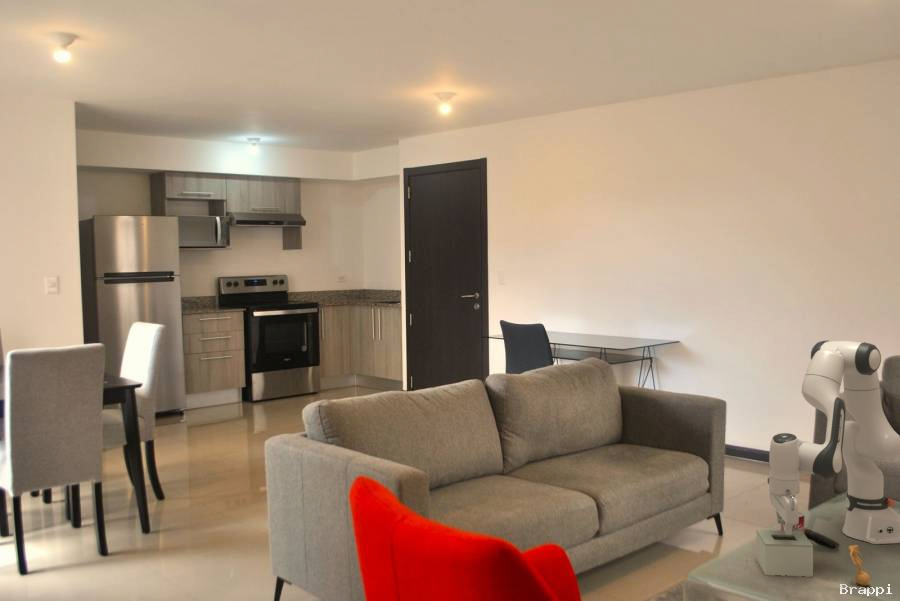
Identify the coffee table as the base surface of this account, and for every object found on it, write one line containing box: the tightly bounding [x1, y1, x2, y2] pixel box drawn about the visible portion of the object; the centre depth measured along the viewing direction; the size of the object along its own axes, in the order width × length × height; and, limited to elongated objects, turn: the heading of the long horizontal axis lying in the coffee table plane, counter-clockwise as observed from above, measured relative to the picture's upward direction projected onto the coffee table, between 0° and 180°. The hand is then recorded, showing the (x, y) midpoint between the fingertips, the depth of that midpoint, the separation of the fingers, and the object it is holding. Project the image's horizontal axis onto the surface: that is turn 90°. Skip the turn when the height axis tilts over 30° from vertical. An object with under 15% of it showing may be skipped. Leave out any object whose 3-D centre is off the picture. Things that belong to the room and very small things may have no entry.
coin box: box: [756, 529, 814, 578], centre depth 251 cm, size 14×12×10 cm
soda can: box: [780, 511, 805, 534], centre depth 266 cm, size 7×7×12 cm
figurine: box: [847, 544, 871, 587], centre depth 238 cm, size 8×6×12 cm
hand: (784, 528), depth 250 cm, fingers open, 8 cm apart
